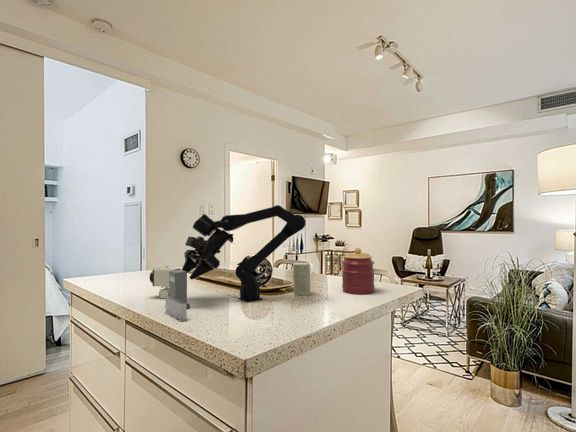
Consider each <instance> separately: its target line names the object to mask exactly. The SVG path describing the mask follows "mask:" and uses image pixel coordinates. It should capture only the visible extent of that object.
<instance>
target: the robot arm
mask: <svg viewBox="0 0 576 432" xmlns="http://www.w3.org/2000/svg"><path fill="white" fill-rule="evenodd" d="M276 217H278V218H280V219H281V220H283V221H284V222H286V224H285V225H284V226H283V228H282V229H281V230H280V231H279V232H278V233H277V234H276V235H275V236H274V237H273V238H272V239H271V240H269V242H268V243H267V244H265V245H264V246H263V247H262V248H261V249H260V250H259V251H258V252H256V253H255V254H254V255H253V256H252V257H251V256H250V255H247V256H245V257H244V258H243V259H242V261H240V262H239V263H238V262H237V266H236V268H235V276H236V277H237V278H238V280H239V281H240V287H239V297H238V300H240V301H244V302H246V303H251V302H255V301H256V302H257V301H262V300H263V297H261V295H260V294H261V291H260V290H261V286H260V285H261V282H260V281H259V280H260V277H261V275H260V274H259V272H257V269H258V268H259V266H260V265H261V264H262V262H264V261H265V260H266V259H267V258H268V257H270V255H271V254H273V252H275V251H276V250H277V249H278V248H279V247H280V246H281V245H282V244H283V243H285V242H286V240H288V239H290V237H292V236H293V235H295V234H297V233H298V232H301V231H302V230H303V229H304V228H305V227H306V223H307V221H306V219H305V217H304V216H303V215H301V214H294V213H292V212H290V211H289V210H287V209H285V208H284V207H283V206H281V205H279V204H278V205H277V204H276V205H273V206H270V207H266V208H263V209H259V210H256V211H251V212H248V213H241V214H229V215H224V216H222V217H221V219H220V220H216V221H215V220H213V219H211V218H210V217H209V216H208V215H207V214H206V213H203V214H202V215H201V216H200V217H198V218H197V220H195V222H194V223H193V225H192V229H194V230H195V231H196V232H198V233H199V234H200V235H201V236H200V235H199V236H197V237H193V236H188V237H187V239H186V242H185V243H184V244H185V246H187V247H191V248H192V249H186V251H185V252H184V253H183V254H184V259H185V260H184V261H185V262H184V264H183V265H182V268H181V270H183V271H187V274H188V273H189V272H191V271H192V270H193V271H192V273H191V274H190V276H189V279H190V280H195V279H197V278H198V277H200V276H203V275H204V274H206V273H209V272H211V271H213V270H214V269H215V270H217V269H218V268H219V267H220V266H221V261H220V260H219V258H217V257H216V254H220V253H221V249H222V247H223V246H224V245H225V244H226V243H227V242H230V243H231V244H233V243H234V233H228V232H231V231H236V230H238V229H240V228H243V227H244V226H247V225H248V224H252V223H255V222H259V221H263V220H267V219H271V218H276ZM207 236H208V238H207V239H205V238H206V237H207Z"/></svg>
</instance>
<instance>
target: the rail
mask: <svg viewBox="0 0 576 432" xmlns="http://www.w3.org/2000/svg"><path fill="white" fill-rule="evenodd" d="M190 309H191V303H189V302H187V304H186V303H184V302H182V301H180V300H178V299H176V297H172V296H166V299H165V313H167V314H168V315H169V316H170V317H172V318H174V319H176V320H178V321H180V322H187V321H188V319H187V315H188V314H187V310H190Z"/></svg>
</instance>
